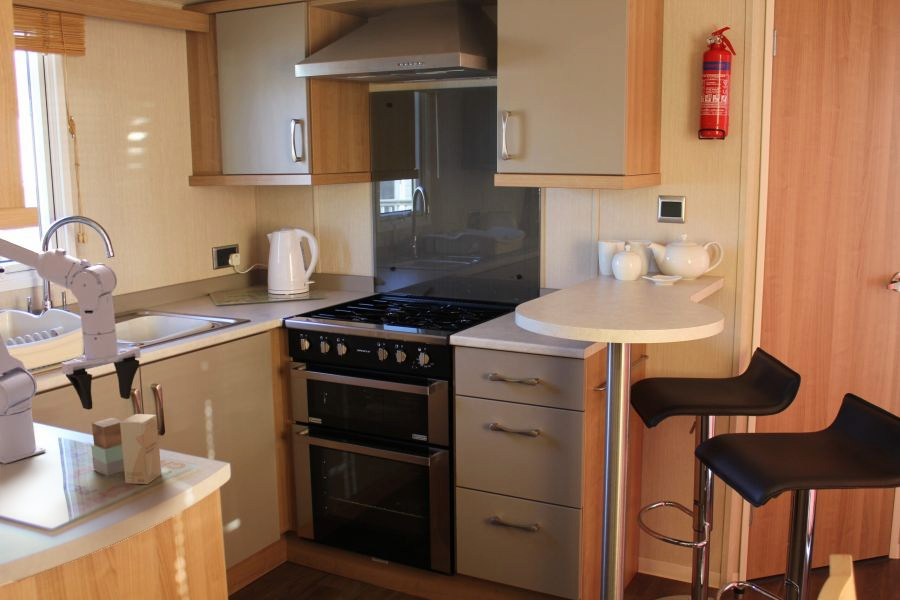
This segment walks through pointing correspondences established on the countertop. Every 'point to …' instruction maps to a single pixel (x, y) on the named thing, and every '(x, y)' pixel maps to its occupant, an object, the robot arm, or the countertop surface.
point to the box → (140, 448)
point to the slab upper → (107, 453)
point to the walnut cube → (107, 433)
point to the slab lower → (108, 466)
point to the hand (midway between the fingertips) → (106, 403)
